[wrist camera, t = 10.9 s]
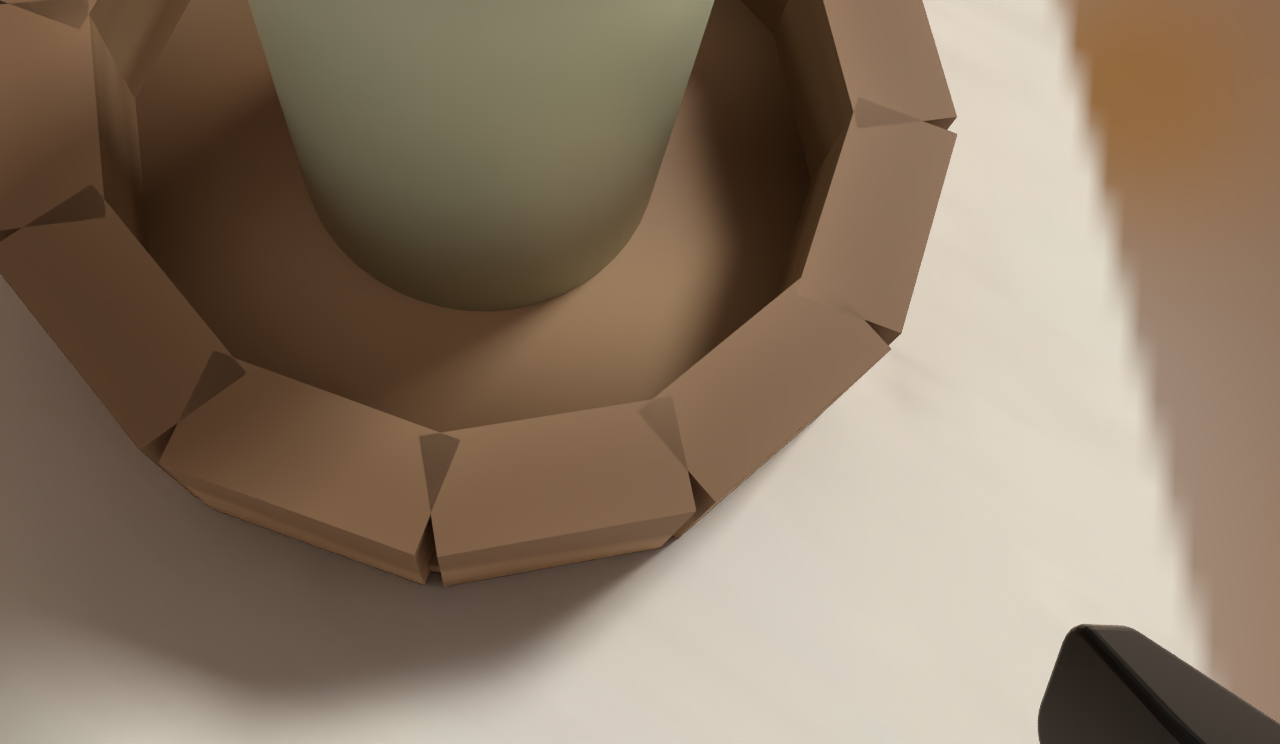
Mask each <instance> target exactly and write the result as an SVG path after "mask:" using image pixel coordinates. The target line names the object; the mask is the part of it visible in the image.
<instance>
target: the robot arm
mask: <svg viewBox="0 0 1280 744" xmlns="http://www.w3.org/2000/svg"><path fill="white" fill-rule="evenodd" d="M1038 735H1039V741H1040V744H1280V724H1279V723H1277V722H1276V721H1274V720H1273V719H1271V718H1270V717H1268V716H1267V715H1265V714H1264V713H1262V712H1261V711H1259V710H1257V709H1256V708H1255V707H1253V706H1251V705H1250V704H1248V703H1247V702H1245V701H1244V700H1242V699H1241V698H1239V697H1238V696H1236V695H1235V694H1233V693H1232V692H1230V691H1228V690H1227V689H1225V688H1224V687H1222V686H1221V685H1219V684H1218V683H1216V682H1215V681H1213V680H1212V679H1210V678H1209V677H1207V676H1206V675H1204V674H1202V673H1201V672H1199V671H1198V670H1196V669H1195V668H1193V667H1192V666H1190V665H1189V664H1187V663H1186V662H1184V661H1183V660H1181V659H1179V658H1178V657H1176V656H1175V655H1173V654H1172V653H1170V652H1169V651H1167V650H1166V649H1164V648H1163V647H1161V646H1160V645H1158V644H1156V643H1155V642H1153V641H1152V640H1150V639H1149V638H1147V637H1146V636H1144V635H1143V634H1141V633H1140V632H1138V631H1136V630H1135V629H1133V628H1130V627H1126V626H1118V625H1093V624H1081V625H1078V626H1076V627H1074V628H1072V629H1071V630H1070V631H1069V632H1068V634H1067V635H1066V637H1065V639H1064V641H1063V643H1062V646H1061V649H1060V652H1059V654H1058V657H1057V660H1056V663H1055V666H1054V669H1053V671H1052V674H1051V677H1050V680H1049V683H1048V685H1047V688H1046V691H1045V694H1044V697H1043V699H1042V702H1041V705H1040V709H1039V715H1038Z"/></svg>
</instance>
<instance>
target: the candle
mask: <svg viewBox="0 0 1280 744" xmlns="http://www.w3.org/2000/svg"><path fill="white" fill-rule="evenodd" d="M248 2H249V5H250V9H251V12H252V15H253V18H254V21H255V25H256V28H257V31H258V34H259V37H260V41H261V44H262V47H263V50H264V53H265V57H266V60H267V63H268V66H269V69H270V73H271V76H272V79H273V82H274V85H275V89H276V92H277V95H278V98H279V101H280V104H281V108H282V111H283V114H284V117H285V120H286V124H287V127H288V130H289V133H290V136H291V140H292V143H293V146H294V149H295V152H296V156H297V159H298V162H299V165H300V168H301V172H302V175H303V178H304V181H305V184H306V187H307V191H308V193H309V196H310V198H311V201H312V204H313V206H314V209H315V211H316V213H317V215H318V216H319V218H320V220H321V222H322V224H323V225H324V227H325V229H326V231H327V232H328V233H329V235H330V236H331V237H332V238H333V240H334V241H335V242H336V244H337V245H338V246H339V248H340V249H341V250H342V251H343V252H344V253H345V254H346V255H347V256H348V257H349V258H350V259H351V260H352V261H353V262H354V263H355V264H356V265H357V266H359V267H360V268H361V269H363V270H364V271H365V272H367V273H368V274H369V275H371V276H372V277H373V278H375V279H376V280H378V281H379V282H381V283H383V284H385V285H386V286H388V287H390V288H392V289H393V290H395V291H397V292H399V293H402V294H404V295H406V296H409V297H411V298H414V299H416V300H418V301H422V302H425V303H429V304H433V305H436V306H440V307H444V308H451V309H458V310H464V311H501V310H512V309H518V308H522V307H527V306H531V305H536V304H539V303H542V302H545V301H548V300H550V299H553V298H556V297H559V296H561V295H563V294H565V293H567V292H569V291H571V290H573V289H575V288H577V287H579V286H581V285H582V284H583V283H585V282H586V281H588V280H589V279H591V278H592V277H594V276H595V275H597V274H598V273H599V272H600V271H601V270H603V269H604V268H605V267H606V266H607V265H608V264H609V263H610V262H611V261H612V260H614V259H615V258H616V256H617V255H618V254H619V253H620V252H621V250H622V249H623V248H624V247H625V246H626V244H627V243H628V242H629V240H630V239H631V237H632V236H633V234H634V232H635V231H636V229H637V228H638V226H639V224H640V222H641V220H642V218H643V215H644V213H645V211H646V209H647V206H648V204H649V201H650V198H651V194H652V191H653V188H654V185H655V182H656V179H657V176H658V173H659V170H660V167H661V164H662V161H663V157H664V154H665V151H666V148H667V145H668V142H669V139H670V136H671V133H672V130H673V127H674V124H675V120H676V117H677V114H678V111H679V108H680V105H681V102H682V99H683V96H684V93H685V90H686V87H687V84H688V80H689V77H690V74H691V71H692V68H693V65H694V62H695V59H696V56H697V53H698V50H699V47H700V43H701V40H702V37H703V34H704V31H705V28H706V25H707V22H708V19H709V16H710V13H711V10H712V6H713V3H714V0H248Z"/></svg>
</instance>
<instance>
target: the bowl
mask: <svg viewBox="0 0 1280 744" xmlns="http://www.w3.org/2000/svg"><path fill="white" fill-rule="evenodd" d="M956 117H957V116H956V112H955V109H954V106H953V102H952V99H951V95H950V92H949V89H948V85H947V82H946V79H945V75H944V72H943V69H942V65H941V62H940V59H939V55H938V52H937V48H936V45H935V42H934V38H933V35H932V32H931V28H930V25H929V22H928V18H927V15H926V12H925V8H924V5H923V2H922V0H714V3H713V6H712V10H711V13H710V16H709V19H708V22H707V25H706V28H705V31H704V34H703V37H702V40H701V43H700V47H699V50H698V53H697V56H696V59H695V62H694V65H693V68H692V71H691V74H690V77H689V80H688V84H687V87H686V90H685V93H684V96H683V99H682V102H681V105H680V108H679V111H678V114H677V117H676V120H675V124H674V127H673V130H672V133H671V136H670V139H669V142H668V145H667V148H666V151H665V154H664V157H663V161H662V164H661V167H660V170H659V173H658V176H657V179H656V182H655V185H654V188H653V191H652V194H651V198H650V201H649V204H648V206H647V209H646V211H645V213H644V215H643V218H642V220H641V222H640V224H639V226H638V228H637V229H636V231H635V232H634V234H633V236H632V237H631V239H630V240H629V242H628V243H627V244H626V246H625V247H624V248H623V249H622V250H621V252H620V253H619V254H618V255H617V256H616V258H615V259H614V260H612V261H611V262H610V263H609V264H608V265H607V266H606V267H605V268H604V269H603V270H601V271H600V272H599V273H598V274H597V275H595V276H594V277H592V278H591V279H589V280H588V281H586V282H585V283H583V284H582V285H581V286H579V287H577V288H575V289H573V290H571V291H569V292H567V293H565V294H563V295H561V296H559V297H556V298H553V299H550V300H548V301H545V302H542V303H539V304H536V305H531V306H527V307H522V308H518V309H512V310H501V311H464V310H458V309H451V308H444V307H440V306H436V305H433V304H429V303H425V302H422V301H418V300H416V299H414V298H411V297H409V296H406V295H404V294H402V293H399V292H397V291H395V290H393V289H392V288H390V287H388V286H386V285H385V284H383V283H381V282H379V281H378V280H376V279H375V278H373V277H372V276H371V275H369V274H368V273H367V272H365V271H364V270H363V269H361V268H360V267H359V266H357V265H356V264H355V263H354V262H353V261H352V260H351V259H350V258H349V257H348V256H347V255H346V254H345V253H344V252H343V251H342V250H341V249H340V248H339V246H338V245H337V244H336V242H335V241H334V240H333V238H332V237H331V236H330V235H329V233H328V232H327V231H326V229H325V227H324V225H323V224H322V222H321V220H320V218H319V216H318V215H317V213H316V211H315V209H314V206H313V204H312V201H311V198H310V196H309V193H308V191H307V187H306V184H305V181H304V178H303V175H302V172H301V168H300V165H299V162H298V159H297V156H296V152H295V149H294V146H293V143H292V140H291V136H290V133H289V130H288V127H287V124H286V120H285V117H284V114H283V111H282V108H281V104H280V101H279V98H278V95H277V92H276V89H275V85H274V82H273V79H272V76H271V73H270V69H269V66H268V63H267V60H266V57H265V53H264V50H263V47H262V44H261V41H260V37H259V34H258V31H257V28H256V25H255V21H254V18H253V15H252V12H251V9H250V5H249V2H248V0H0V274H1V275H2V276H3V277H4V279H5V280H6V281H7V282H8V284H9V285H10V286H11V287H12V289H13V290H14V291H15V293H16V294H17V295H18V296H19V298H20V299H21V300H22V301H23V303H24V304H25V305H26V306H27V308H28V309H29V310H30V312H31V313H32V314H33V315H34V317H35V318H36V319H37V320H38V322H39V323H40V324H41V325H42V327H43V328H44V329H45V331H46V332H47V333H48V334H49V336H50V337H51V338H52V339H53V341H54V342H55V343H56V344H57V346H58V347H59V348H60V350H61V351H62V352H63V353H64V355H65V356H66V357H67V358H68V360H69V361H70V362H71V363H72V365H73V366H74V367H75V368H76V370H77V371H78V372H79V374H80V375H81V376H82V377H83V379H84V380H85V381H86V382H87V384H88V385H89V386H90V387H91V389H92V390H93V391H94V393H95V394H96V395H97V396H98V398H99V399H100V400H101V401H102V403H103V404H104V405H105V406H106V408H107V409H108V410H109V412H110V413H111V414H112V415H113V417H114V418H115V419H116V420H117V422H118V423H119V424H120V425H121V427H122V428H123V429H124V431H125V432H126V433H127V434H128V436H129V437H130V438H131V439H132V441H133V442H134V443H135V444H136V446H137V447H138V448H139V450H141V451H142V452H143V453H144V454H145V455H147V456H148V457H149V458H150V459H151V460H152V461H154V462H155V463H156V464H157V465H158V466H160V467H161V468H162V469H163V470H164V471H166V472H167V473H168V474H169V475H170V476H171V477H173V478H174V479H175V480H176V481H177V482H179V483H180V484H181V485H182V486H183V487H185V488H186V489H187V490H188V491H189V492H190V493H192V494H193V495H194V496H195V497H196V498H198V497H199V498H200V499H201V500H203V501H204V502H205V503H206V504H207V505H208V506H210V507H211V508H212V509H214V510H217V511H220V512H222V513H225V514H228V515H231V516H234V517H236V518H239V519H242V520H245V521H247V522H250V523H253V524H256V525H259V526H261V527H264V528H267V529H270V530H272V531H275V532H278V533H281V534H284V535H286V536H289V537H292V538H295V539H297V540H300V541H303V542H306V543H309V544H311V545H314V546H317V547H320V548H322V549H325V550H328V551H331V552H334V553H336V554H339V555H342V556H345V557H348V558H350V559H353V560H356V561H359V562H361V563H364V564H367V565H370V566H373V567H375V568H378V569H381V570H384V571H386V572H389V573H392V574H395V575H398V576H400V577H403V578H406V579H409V580H411V581H414V582H417V583H420V584H423V585H425V583H426V580H427V578H428V575H429V573H430V572H437V573H441V576H442V581H443V585H444V587H445V586H451V585H456V584H462V583H467V582H473V581H478V580H484V579H489V578H495V577H501V576H506V575H512V574H517V573H523V572H528V571H534V570H539V569H545V568H550V567H556V566H561V565H567V564H572V563H578V562H583V561H589V560H594V559H600V558H605V557H611V556H616V555H622V554H627V553H633V552H638V551H644V550H649V549H655V548H660V547H661V546H662V545H663V544H664V543H665V542H666V541H667V540H668V539H669V538H670V537H671V536H672V535H673V536H674V537H675V538H676V539H678V538H679V537H680V536H682V535H683V534H684V533H685V532H686V531H687V530H688V529H690V528H691V527H692V526H693V525H694V524H695V523H696V522H698V521H699V520H700V519H701V518H702V517H703V516H705V515H706V514H707V513H708V512H709V511H710V510H711V509H713V508H714V507H715V506H716V505H717V504H718V503H719V502H721V501H722V500H723V499H724V498H725V497H726V496H727V495H729V494H730V493H731V492H732V491H733V490H734V489H735V488H737V487H738V486H739V485H740V484H741V483H742V482H743V481H745V480H746V479H747V478H748V477H749V476H750V475H751V474H753V473H754V472H755V471H756V470H757V469H758V468H760V467H761V466H762V465H763V464H764V463H765V462H766V461H768V460H769V459H770V458H771V457H772V456H773V455H774V454H776V453H777V452H778V451H779V450H780V449H781V448H782V447H784V446H785V445H786V444H787V443H788V442H789V441H790V440H792V439H793V438H794V437H795V436H796V435H797V434H798V433H800V432H801V431H802V430H803V429H804V428H805V427H807V426H808V425H809V424H810V423H811V422H812V421H813V420H815V419H816V418H817V417H818V416H819V415H820V414H821V413H823V412H824V411H825V410H826V409H827V408H828V407H829V406H830V405H831V404H833V403H834V402H835V401H836V400H837V399H838V398H839V397H840V396H841V395H842V394H843V393H844V392H845V391H847V390H848V389H849V388H850V387H851V386H852V385H853V384H854V383H855V382H856V381H857V380H858V379H860V378H861V377H862V376H863V375H864V374H865V373H866V372H867V371H868V370H869V369H870V368H871V367H872V366H874V365H875V364H876V363H877V362H878V361H879V360H880V359H881V358H882V357H883V356H884V355H885V354H887V353H888V352H889V351H890V350H891V348H890V347H889V346H888V345H889V344H890V343H891V342H893V341H894V340H895V339H896V338H897V337H898V336H899V335H900V334H901V333H902V329H903V326H904V322H905V318H906V315H907V311H908V308H909V304H910V301H911V297H912V293H913V290H914V286H915V283H916V279H917V276H918V272H919V268H920V265H921V261H922V258H923V254H924V251H925V247H926V244H927V240H928V236H929V233H930V229H931V226H932V222H933V219H934V215H935V211H936V208H937V204H938V201H939V197H940V194H941V190H942V187H943V183H944V179H945V176H946V172H947V169H948V165H949V162H950V158H951V154H952V151H953V147H954V144H955V140H956V137H957V134H956V133H953V132H951V131H948V130H947V129H948V128H949V126H950V125H951V124H952V123H953V121H954V120H955V119H956Z"/></svg>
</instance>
